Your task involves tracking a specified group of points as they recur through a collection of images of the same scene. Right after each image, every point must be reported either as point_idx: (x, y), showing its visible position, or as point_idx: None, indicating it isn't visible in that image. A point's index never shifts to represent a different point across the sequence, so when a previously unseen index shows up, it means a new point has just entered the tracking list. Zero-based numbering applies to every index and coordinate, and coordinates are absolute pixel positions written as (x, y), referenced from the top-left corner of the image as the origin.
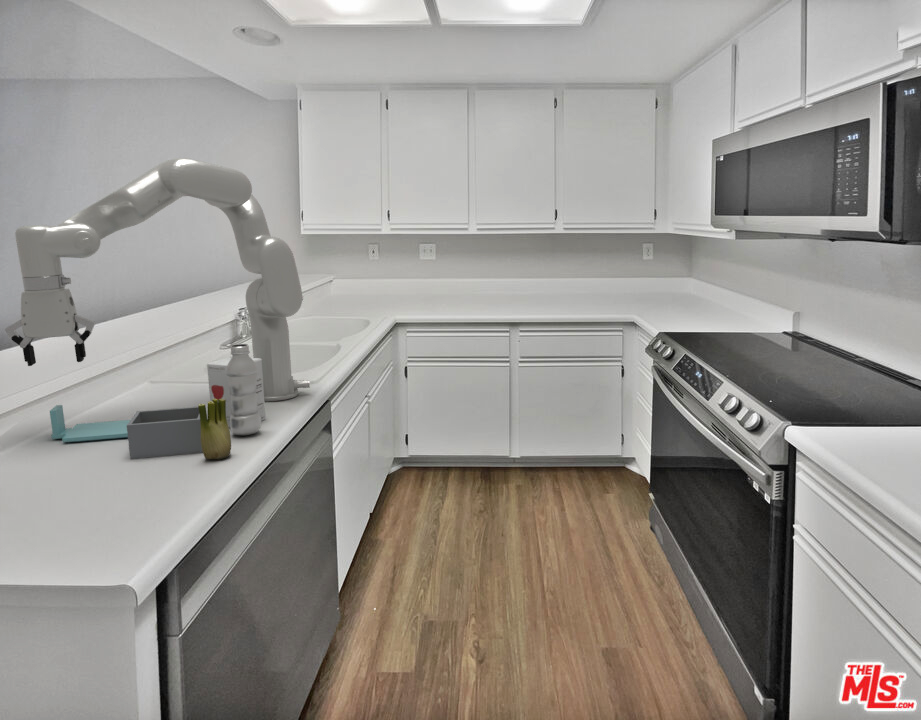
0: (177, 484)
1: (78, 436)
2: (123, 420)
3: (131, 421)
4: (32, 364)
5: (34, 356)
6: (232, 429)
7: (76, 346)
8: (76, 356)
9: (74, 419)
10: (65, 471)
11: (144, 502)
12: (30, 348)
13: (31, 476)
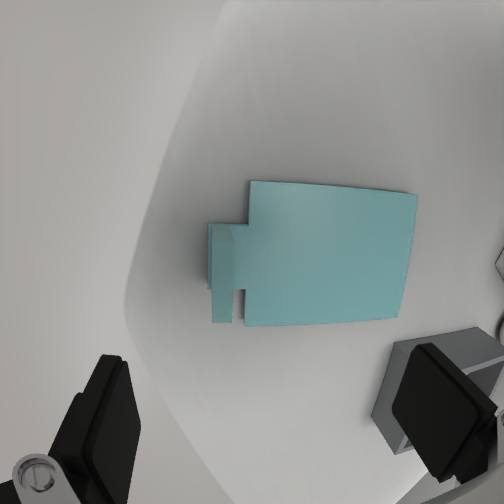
0: (398, 472)
1: (281, 318)
2: (374, 191)
3: (406, 438)
4: (137, 416)
5: (117, 399)
6: (502, 342)
7: (438, 472)
8: (404, 429)
9: (216, 57)
10: (281, 450)
11: (363, 499)
12: (116, 496)
13: (235, 459)
